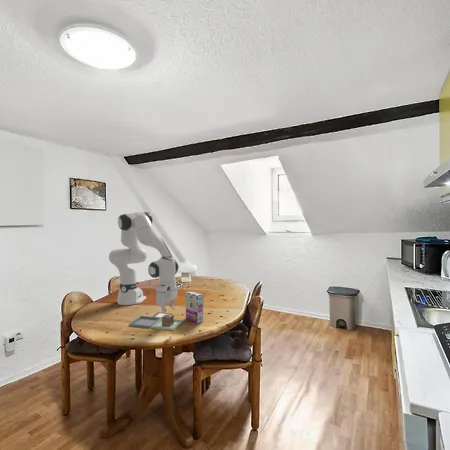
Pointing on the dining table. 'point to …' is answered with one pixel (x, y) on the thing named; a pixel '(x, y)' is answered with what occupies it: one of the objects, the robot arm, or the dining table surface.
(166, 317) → the letter cube
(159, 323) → the tray
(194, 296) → the candy bar box
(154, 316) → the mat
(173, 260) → the robot arm
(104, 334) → the dining table surface
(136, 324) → the tray
